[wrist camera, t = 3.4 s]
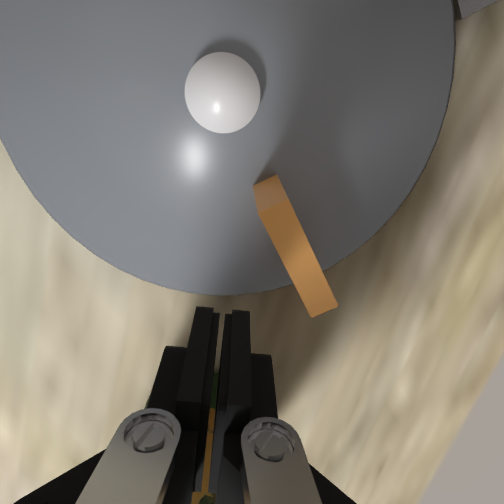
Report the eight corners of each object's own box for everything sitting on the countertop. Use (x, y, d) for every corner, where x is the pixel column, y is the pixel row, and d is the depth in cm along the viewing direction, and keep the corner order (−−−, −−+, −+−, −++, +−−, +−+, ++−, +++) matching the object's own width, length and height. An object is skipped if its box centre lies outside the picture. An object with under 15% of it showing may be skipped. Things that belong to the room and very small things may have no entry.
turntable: (-108, -28, 15) (-277, -82, 10) (348, -336, 13) (425, -616, 7) (153, 333, 22) (130, 406, 17) (479, 185, 20) (563, 221, 15)
